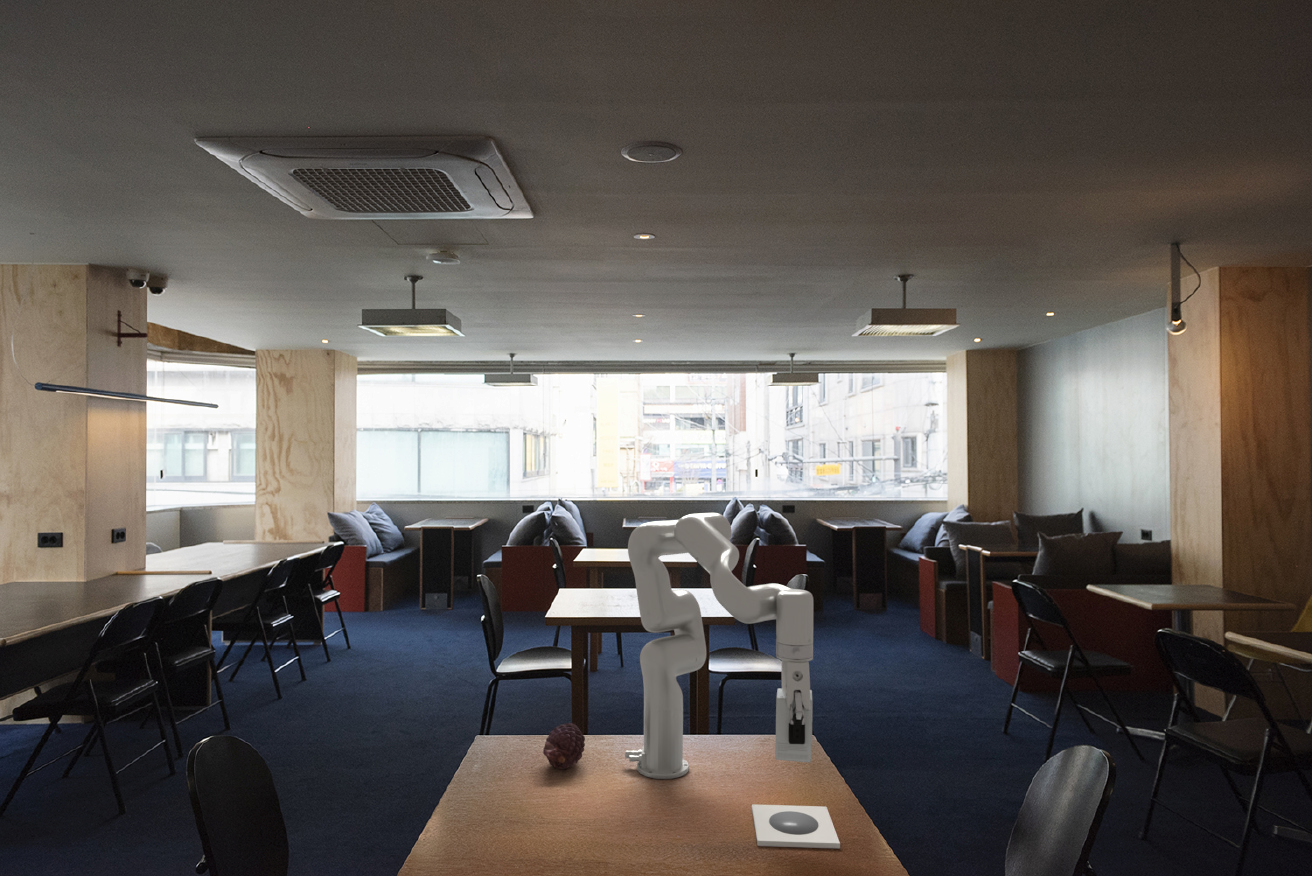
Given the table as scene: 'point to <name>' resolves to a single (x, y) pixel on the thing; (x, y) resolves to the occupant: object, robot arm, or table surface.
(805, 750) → the supplement box
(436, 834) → the table surface
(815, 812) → the mat
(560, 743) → the pine cone
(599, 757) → the table surface
